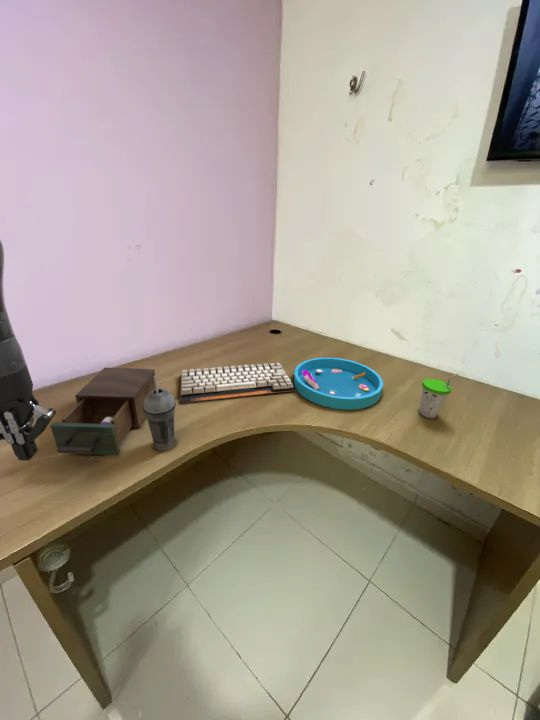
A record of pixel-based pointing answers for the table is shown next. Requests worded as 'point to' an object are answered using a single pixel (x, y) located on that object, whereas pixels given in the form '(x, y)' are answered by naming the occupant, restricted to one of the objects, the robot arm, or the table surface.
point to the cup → (434, 396)
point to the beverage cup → (160, 417)
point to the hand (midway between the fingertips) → (28, 456)
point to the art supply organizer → (338, 383)
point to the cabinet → (121, 388)
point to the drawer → (94, 427)
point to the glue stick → (106, 420)
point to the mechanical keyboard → (233, 382)
